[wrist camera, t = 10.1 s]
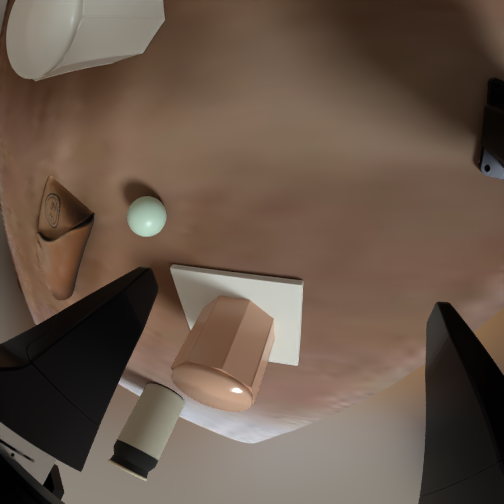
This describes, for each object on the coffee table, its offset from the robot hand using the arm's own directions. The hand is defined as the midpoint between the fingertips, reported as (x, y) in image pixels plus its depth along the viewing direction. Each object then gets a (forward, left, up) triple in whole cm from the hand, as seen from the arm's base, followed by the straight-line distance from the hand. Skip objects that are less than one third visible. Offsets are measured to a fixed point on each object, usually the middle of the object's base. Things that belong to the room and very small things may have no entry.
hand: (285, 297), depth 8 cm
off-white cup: (+13, -12, -12) cm, 21 cm away
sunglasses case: (+30, +9, -13) cm, 34 cm away
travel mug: (+25, +43, -12) cm, 51 cm away
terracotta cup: (+7, +16, -11) cm, 21 cm away
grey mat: (+7, +16, -12) cm, 21 cm away
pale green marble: (+13, +4, -12) cm, 18 cm away
